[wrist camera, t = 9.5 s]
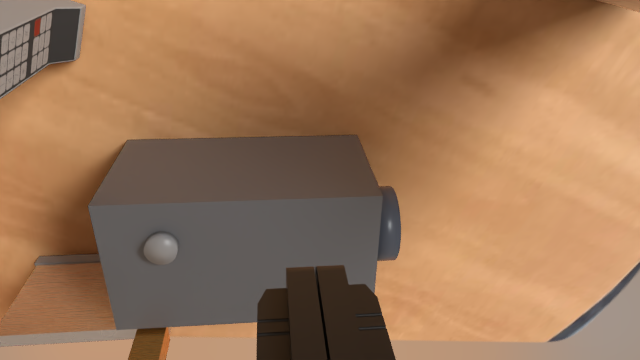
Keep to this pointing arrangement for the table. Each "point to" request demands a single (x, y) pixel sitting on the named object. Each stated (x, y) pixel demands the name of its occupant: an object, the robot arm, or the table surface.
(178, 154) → the grey box machine
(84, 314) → the side door
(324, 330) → the robot arm
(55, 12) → the vintage mobile phone
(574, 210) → the table surface
